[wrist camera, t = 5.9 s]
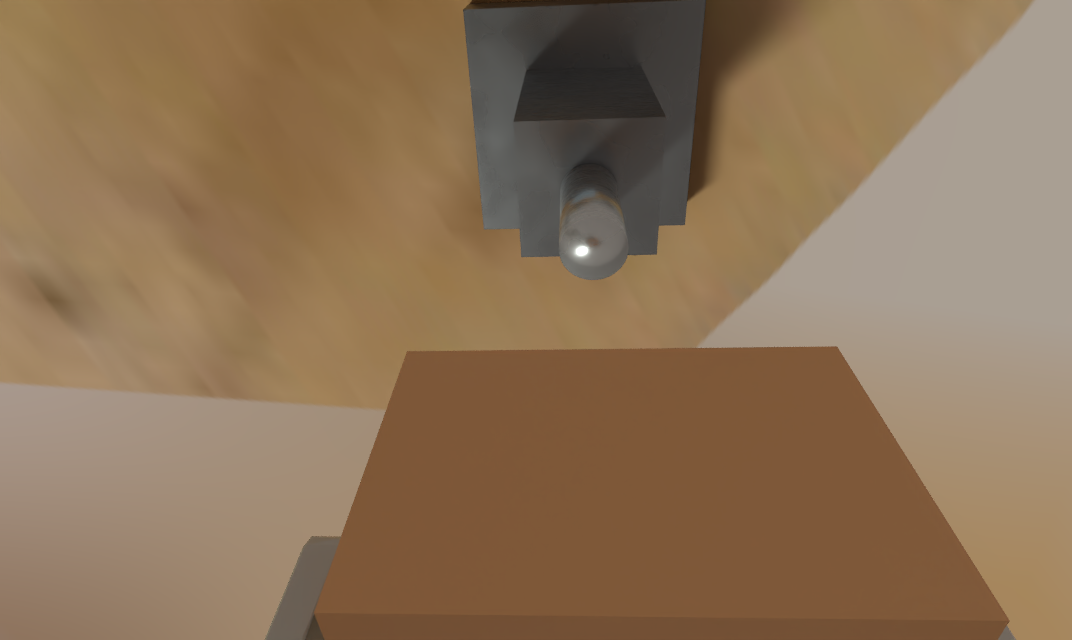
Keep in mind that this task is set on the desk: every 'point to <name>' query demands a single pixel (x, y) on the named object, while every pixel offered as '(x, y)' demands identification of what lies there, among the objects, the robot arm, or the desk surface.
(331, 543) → the robot arm
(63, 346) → the desk surface
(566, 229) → the stand
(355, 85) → the desk surface
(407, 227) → the desk surface
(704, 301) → the desk surface
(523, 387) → the collar
